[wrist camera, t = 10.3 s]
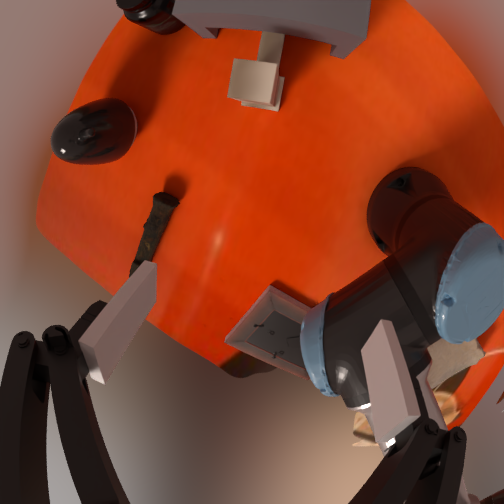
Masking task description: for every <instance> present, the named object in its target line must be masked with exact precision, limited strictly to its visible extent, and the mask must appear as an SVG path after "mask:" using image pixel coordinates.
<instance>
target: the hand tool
mask: <svg viewBox="0 0 504 504" xmlns="http://www.w3.org/2000/svg"><path fill="white" fill-rule="evenodd" d="M178 204H180V203H179V200H178V199H176V198H175V197H173V196H172V195H170V194H168V193H165V192H159V193H156V194H154V196H153V207H152V210H151V212H150V215H149V218H148V219H147V222H146V223H145V224H144V226H143V227H144V232H143V235H142V238H141V241H140V244H139V247H138V251H137V254H136V257H135V260H134V261H133V263H132V265H131V269H130V274H129V278H130V277H131V275H132V274H133V273H134V272H135V271H136V270H137V269H138V267H139V266H140V265H141V264H142V263H143V262H144V261H145V260H146V261H149V262H151V261H152V257H153V255H154V252H155V250H156V248H157V246H158V243H159V241H160V238H161V236H162V233H163V232H164V230H165V228H166V226H167V223H168V221H169V217H170V215H171V213H172V211H173V209H174V208H175V207H177V206H178Z"/></svg>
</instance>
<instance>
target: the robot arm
mask: <svg viewBox="0 0 504 504" xmlns="http://www.w3.org/2000/svg"><path fill="white" fill-rule="evenodd" d="M367 224H368V229H369V232H370V234H371V236H372V238H373V240H374V241H375V243H376V245H377V246H378V248H379V249H380V250H381V251H382V252H383V253H384V254H386V255H387V256H389V257H387V258H386V259H384V260H382V261H381V262H380V263H378V264H377V265H376V266H374V267H373V268H371V269H370V270H368V271H367V272H366V273H364V274H363V275H361V276H360V277H358V278H357V279H356V280H354V281H353V282H351V283H350V284H348V285H347V286H345V287H344V288H342V289H340V290H339V291H337V292H336V293H331V294H329V295H328V296H327V297H326V299H325V300H323V301H322V302H320V303H319V304H318V305H316V306H315V307H313V308H312V309H311V310H309V311H308V313H307V314H306V315H305V317H304V319H303V321H302V325H301V333H300V345H301V352H302V357H303V361H304V364H305V367H306V370H307V372H308V375H309V377H310V379H311V380H312V382H313V384H314V385H315V386H316V388H318V389H320V392H321V393H323V394H324V395H326V396H334V397H335V396H339V395H341V396H342V398H343V400H344V402H345V404H346V406H347V408H348V409H349V410H353V411H357V412H361V413H363V414H365V416H366V418H367V421H368V423H369V425H370V427H371V429H372V431H373V433H374V435H375V441H376V442H378V444H379V446H380V448H381V451H382V453H383V455H384V458H383V460H382V461H381V462H380V464H379V465H378V467H377V468H376V469H375V471H374V472H373V474H372V475H371V476H370V477H369V479H368V480H367V482H366V483H365V484H364V485H363V487H362V488H361V489H360V490H359V492H358V493H357V494H356V495H355V496H354V497H353V499H352V500H351V501H350V502H349V503H348V504H504V489H502V490H500V491H498V492H496V493H494V494H493V495H491V496H489V497H487V498H485V499H483V500H481V501H479V499H478V497H477V496H475V495H473V494H468V493H467V490H466V486H465V482H464V478H463V475H462V472H463V466H464V459H465V450H466V440H467V438H466V433H465V431H464V430H463V429H462V428H460V427H457V426H456V427H454V428H452V429H451V430H450V431H448V429H447V426H446V424H445V421H444V418H443V416H442V413H441V411H440V408H439V406H438V403H437V401H436V398H435V396H434V394H433V391H432V389H431V387H430V384H429V382H428V379H427V377H428V374H429V371H430V368H431V365H432V362H433V360H432V358H431V356H430V353H429V351H428V349H427V348H428V347H429V346H430V345H432V344H433V343H435V342H437V341H438V340H440V339H441V338H442V339H444V340H446V341H447V342H449V343H451V344H462V343H463V342H464V341H466V342H469V341H472V340H474V339H475V338H477V337H478V336H480V335H481V334H482V333H484V332H485V331H486V330H487V329H488V328H489V327H490V326H491V325H492V324H493V323H494V322H495V320H496V319H497V318H498V316H499V315H500V313H501V312H502V310H503V309H504V240H503V239H502V238H501V237H500V236H499V235H498V234H497V233H496V231H495V229H494V228H492V226H490V225H489V224H486V223H484V222H483V221H482V220H480V219H479V218H478V217H476V216H475V215H474V214H472V213H471V212H469V211H468V210H467V209H465V208H464V207H462V206H461V205H459V204H458V203H456V202H455V201H454V200H453V198H452V196H451V195H450V193H449V191H448V189H447V188H446V186H445V185H444V183H443V182H442V181H441V180H440V179H439V178H438V177H436V176H435V175H433V174H431V173H430V172H428V171H426V170H423V169H420V168H415V167H407V168H402V169H399V170H396V171H394V172H392V173H390V174H389V175H387V176H386V177H385V178H384V179H383V180H382V181H381V182H380V183H379V184H378V185H377V187H376V188H375V190H374V191H373V193H372V195H371V198H370V201H369V204H368V208H367ZM156 281H157V264H156V263H153V262H149V261H146V260H145V261H144V262H143V263H142V264H141V265H140V266H139V267H138V269H137V270H136V271H135V272H134V273H133V274H132V275H131V277H130V278H129V279H128V280H127V281H126V282H125V283H124V285H123V286H122V287H121V288H120V289H119V291H118V292H117V293H116V294H115V295H114V297H113V298H112V299H111V300H110V301H109V303H106V302H103V301H100V300H99V301H97V302H95V303H94V304H92V305H91V306H90V307H89V308H88V309H87V311H86V312H85V313H84V314H83V315H82V316H81V318H80V319H79V320H78V321H77V322H76V323H75V325H74V326H73V327H72V328H71V330H70V331H69V332H68V330H67V329H66V328H65V327H64V326H61V325H53V326H50V327H48V328H47V329H46V330H45V331H44V332H43V335H42V339H43V342H42V341H37V340H35V338H34V336H33V334H32V333H30V332H28V331H22V332H19V333H18V334H16V335H15V336H14V338H13V340H12V343H11V346H10V349H9V353H8V356H7V360H6V364H5V368H4V372H3V376H2V381H1V386H0V504H50V500H49V491H48V480H47V461H46V460H47V459H46V433H47V412H48V400H49V390H50V384H51V391H52V398H53V404H54V410H55V414H56V420H57V424H58V429H59V434H60V438H61V442H62V446H63V450H64V453H65V457H66V460H67V464H68V467H69V470H70V473H71V476H72V479H73V482H74V485H75V487H76V490H77V493H78V495H79V498H80V500H81V503H82V504H130V502H129V500H128V498H127V496H126V494H125V492H124V490H123V488H122V485H121V483H120V481H119V479H118V477H117V474H116V472H115V469H114V467H113V464H112V462H111V459H110V457H109V454H108V451H107V449H106V446H105V443H104V440H103V437H102V434H101V432H100V428H99V425H98V422H97V418H96V415H95V411H94V408H93V404H92V400H91V397H90V392H89V389H88V384H87V380H86V376H87V374H88V373H89V372H90V375H91V377H92V379H94V380H97V381H98V382H101V383H103V384H106V382H107V381H108V379H109V377H110V375H111V374H112V372H113V370H114V369H115V367H116V365H117V364H118V362H119V360H120V359H121V357H122V355H123V354H124V352H125V350H126V349H127V347H128V345H129V344H130V342H131V340H132V339H133V337H134V336H135V334H136V332H137V331H138V329H139V327H140V326H141V324H142V323H143V321H144V320H145V318H146V317H147V315H148V313H149V312H150V310H151V309H152V307H153V306H154V304H155V303H156ZM492 498H493V500H492Z"/></svg>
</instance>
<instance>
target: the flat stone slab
mask: <svg viewBox="0 0 504 504" xmlns="http://www.w3.org/2000/svg"><path fill="white" fill-rule="evenodd" d="M427 349H428V351H429V353H430V356H431V358H432V360H433V362H432V365H431V368H430V371H429V374H428V377H427V379H428V382H429V384H430V387H431V389H432V388H434V387H436V386H437V385H438V384H440V383H441V382H443V381H444V380H446V379H447V378H449V377H451V376H452V375H454V374H455V373H456V372H458V371H460V370H462V369H464V368H466V367H469V366H471V365H475V364H477V363H478V361H479V360H480V359H481V358H483V357H484V356H485V354H486V352H484V351H483V348H481V346H480V343H479V342H478V340H477V338H475V339H474V340H472V341H469V342H466V341H464V342H463V343H462V344H451V343H449V342H447V341H446V340H444V339H442V338H441V339H440V340H438V341H437V342H435V343H433V344H432V345H430V346H429V347H428V348H427Z"/></svg>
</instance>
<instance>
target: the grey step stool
mask: <svg viewBox="0 0 504 504" xmlns="http://www.w3.org/2000/svg"><path fill="white" fill-rule="evenodd" d="M370 6H371V0H175V4H174V8H173V12H172V15H174V16H175V17H176V18H178V19H179V20H181V21H182V22H183V23H185V24H186V25H187V26H189V27H190V28H191V29H192V30H194V31H195V32H196V33H198V34H199V35H200V36H201V37H203V38H217V34H218V29H219V28H233V29H246V30H256V31H265V32H272V33H279V34H285V35H291V36H297V37H302V38H307V39H312V40H316V41H320V42H324V43H329V44H332V46H331V52H330V56H334V57H338V58H342V59H344V58H345V57H347V56H348V55H349V54H350V53H351V52H352V51H353V50H354V49H355V48H356V47H357V46H359V45H360V44H361V43H362V42H363V41H364V40H365V39H366V37H367V29H368V22H369V14H370Z"/></svg>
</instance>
